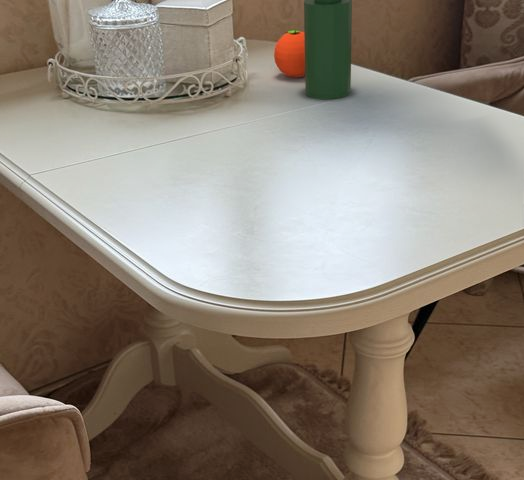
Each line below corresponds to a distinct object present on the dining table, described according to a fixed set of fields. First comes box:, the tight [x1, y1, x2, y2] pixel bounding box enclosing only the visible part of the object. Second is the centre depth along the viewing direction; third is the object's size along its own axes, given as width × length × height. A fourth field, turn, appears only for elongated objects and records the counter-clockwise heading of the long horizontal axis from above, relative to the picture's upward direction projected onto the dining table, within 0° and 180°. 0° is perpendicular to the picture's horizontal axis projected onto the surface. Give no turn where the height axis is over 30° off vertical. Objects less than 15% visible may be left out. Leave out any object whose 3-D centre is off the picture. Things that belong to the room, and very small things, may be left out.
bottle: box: [303, 0, 353, 100], centre depth 115 cm, size 7×7×17 cm
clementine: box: [273, 29, 305, 78], centre depth 126 cm, size 8×7×7 cm
